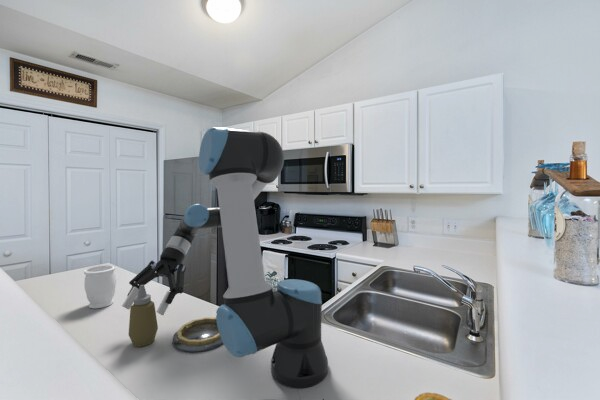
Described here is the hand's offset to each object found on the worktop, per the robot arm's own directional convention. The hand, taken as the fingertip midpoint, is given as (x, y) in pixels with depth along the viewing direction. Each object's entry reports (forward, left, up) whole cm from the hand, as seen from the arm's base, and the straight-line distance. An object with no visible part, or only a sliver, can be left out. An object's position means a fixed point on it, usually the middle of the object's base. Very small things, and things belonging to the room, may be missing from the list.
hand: (142, 310), depth 88 cm
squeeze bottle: (-1, 0, -10) cm, 10 cm away
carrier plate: (-14, -12, -10) cm, 21 cm away
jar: (+41, -6, -10) cm, 43 cm away
